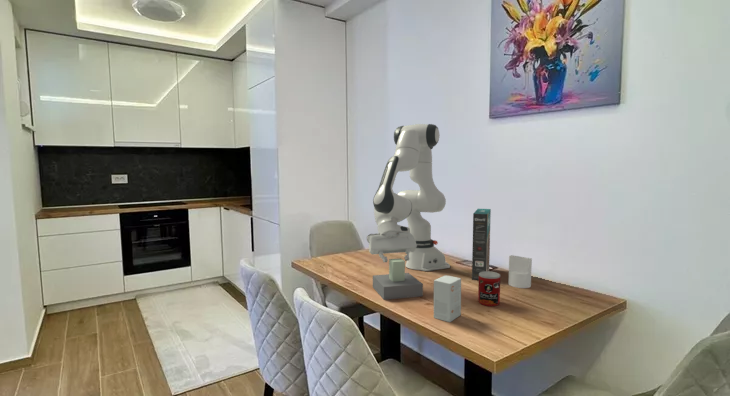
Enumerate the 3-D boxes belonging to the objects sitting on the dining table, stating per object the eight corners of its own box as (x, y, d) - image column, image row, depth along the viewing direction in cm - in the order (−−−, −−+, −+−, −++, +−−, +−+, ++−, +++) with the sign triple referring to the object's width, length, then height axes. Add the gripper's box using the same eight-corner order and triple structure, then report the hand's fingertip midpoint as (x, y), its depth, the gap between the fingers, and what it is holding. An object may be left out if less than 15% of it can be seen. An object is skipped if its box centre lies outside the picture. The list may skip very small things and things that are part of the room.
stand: (408, 284, 164) (408, 272, 164) (422, 296, 149) (422, 283, 148) (372, 287, 160) (372, 275, 160) (383, 299, 145) (383, 287, 144)
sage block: (400, 277, 157) (400, 258, 157) (404, 280, 152) (404, 261, 152) (389, 278, 156) (389, 259, 155) (392, 281, 151) (393, 262, 151)
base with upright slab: (534, 284, 163) (534, 257, 162) (526, 289, 157) (527, 261, 156) (513, 280, 169) (513, 254, 168) (504, 285, 163) (505, 257, 162)
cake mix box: (485, 281, 168) (487, 214, 166) (471, 279, 171) (473, 213, 168) (489, 268, 189) (490, 209, 186) (476, 267, 191) (477, 208, 188)
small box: (444, 310, 134) (445, 274, 133) (461, 315, 130) (461, 278, 128) (432, 317, 127) (433, 280, 126) (450, 322, 123) (450, 283, 122)
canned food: (477, 305, 139) (477, 275, 138) (479, 298, 147) (479, 270, 146) (499, 307, 136) (499, 278, 135) (500, 300, 144) (500, 272, 143)
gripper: (367, 230, 158) (373, 258, 150) (412, 227, 163) (421, 255, 155) (364, 238, 163) (370, 266, 154) (409, 235, 168) (417, 262, 159)
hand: (396, 260), depth 155 cm, fingers open, 8 cm apart
